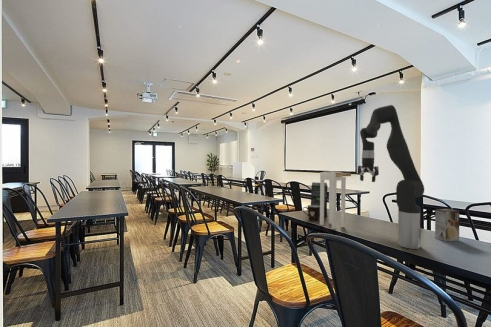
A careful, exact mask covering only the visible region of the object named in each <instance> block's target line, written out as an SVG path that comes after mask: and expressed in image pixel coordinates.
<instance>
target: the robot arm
mask: <svg viewBox="0 0 491 327" xmlns="http://www.w3.org/2000/svg"><path fill="white" fill-rule="evenodd" d="M399 120H400V119H399V115H398V113H397V109H396V107H395V106H394V105H393V104H389V105H384V106H379V107H376V108H374V109H373V111H372V112H371V116H370V121H369V123H368V124H367V126H366V127H362V128H361V129H360V132H359V134H360V138H361V143H362V154H361V165H358V166H357V172H356V173H357V175H359V180H360V182H364V177H365V176H364V175H365V174H367V173H369V174H370V175H371V182H372V183H375V182H376V180H377V179H376V177H377V176H379V168H380V167H379V166H375V142H374V141H369V140H368V139H375V138H377V136H378V131H379V130H380V129H381V127H382V125H383V124H387V123H390V127H391V129H390V134H389V136H388V139H387V141H386V150H387V153H388V156H389V158H390V160H391V161H392V162H393V164H394V165H395V166H396V167H397V168H398V170H399V171H400V172H401V174H402V177H403V179H401V180H400V181H398V183H396V184H397V185H396V187H395V188H396V189H395V190H396V194H395V195H396V205H397V208H398V213H397V214H398V215H397V218H398V220H397V245H398V246H399V247H402V248H405V249H406V248H407V249H411V250H419V249H420V248H421V247H422V245H421V244H422V227H421V207H420V205H418V204H417V203H416V198H417V199H418V198H420V197H422V196H423V195H424V193H425V186H424V183H423V181H422V179H421V177H420V175H419V173H418V171H417V169H416V166H415V163H414V161H413V157H412V155H411V152H410V149H409V147H408V144H407V140H406V139H405V136H404V134H403V131H402V128H401V123H400V121H399Z"/></svg>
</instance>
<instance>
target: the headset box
mask: <svg viewBox="0 0 491 327" xmlns="http://www.w3.org/2000/svg"><path fill="white" fill-rule="evenodd" d="M328 188H329V185H328V183H327V182H324V217H326V218H328V215H327V214H328ZM310 205H318V206H320V182H316V181H315V182H314V181H313V182H311V188H310ZM319 218H320V211H319Z"/></svg>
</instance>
